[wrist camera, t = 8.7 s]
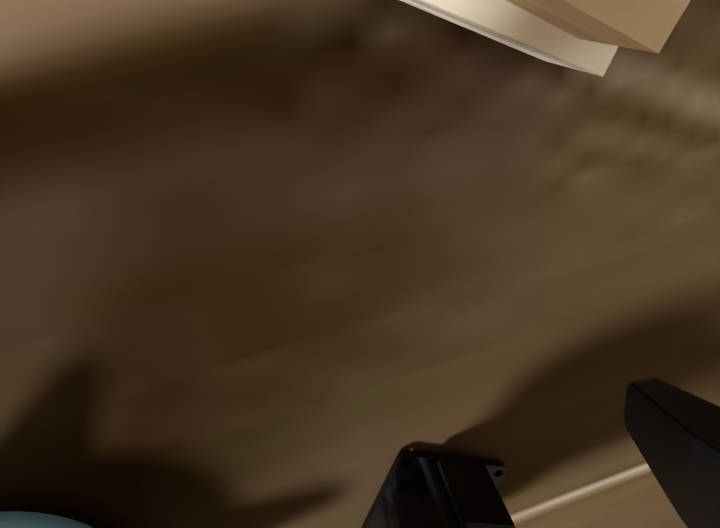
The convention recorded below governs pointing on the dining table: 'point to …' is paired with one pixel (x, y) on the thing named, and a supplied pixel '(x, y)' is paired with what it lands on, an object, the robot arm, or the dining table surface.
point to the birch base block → (522, 32)
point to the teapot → (36, 520)
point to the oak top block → (611, 20)
